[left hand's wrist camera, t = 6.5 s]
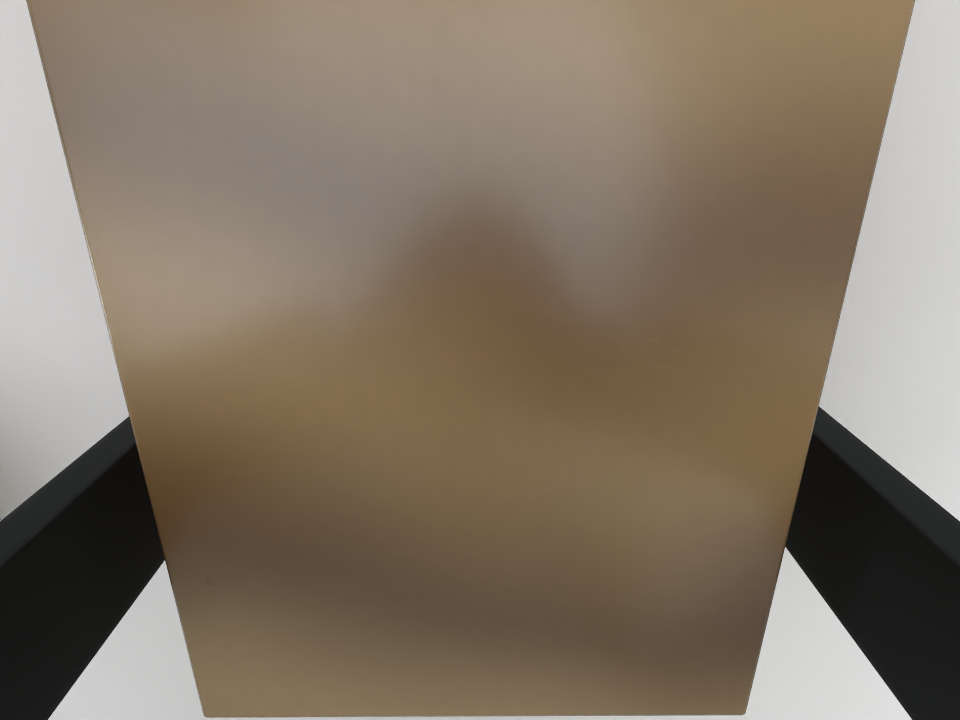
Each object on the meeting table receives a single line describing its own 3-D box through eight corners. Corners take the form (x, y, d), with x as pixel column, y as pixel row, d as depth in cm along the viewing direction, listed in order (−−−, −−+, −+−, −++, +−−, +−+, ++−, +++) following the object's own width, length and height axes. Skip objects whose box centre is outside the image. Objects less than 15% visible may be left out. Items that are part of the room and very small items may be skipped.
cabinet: (232, -332, 12) (-326, -1396, 4) (713, -331, 12) (1245, -1374, 4) (323, 461, 19) (202, 719, 11) (628, 461, 19) (746, 717, 11)
